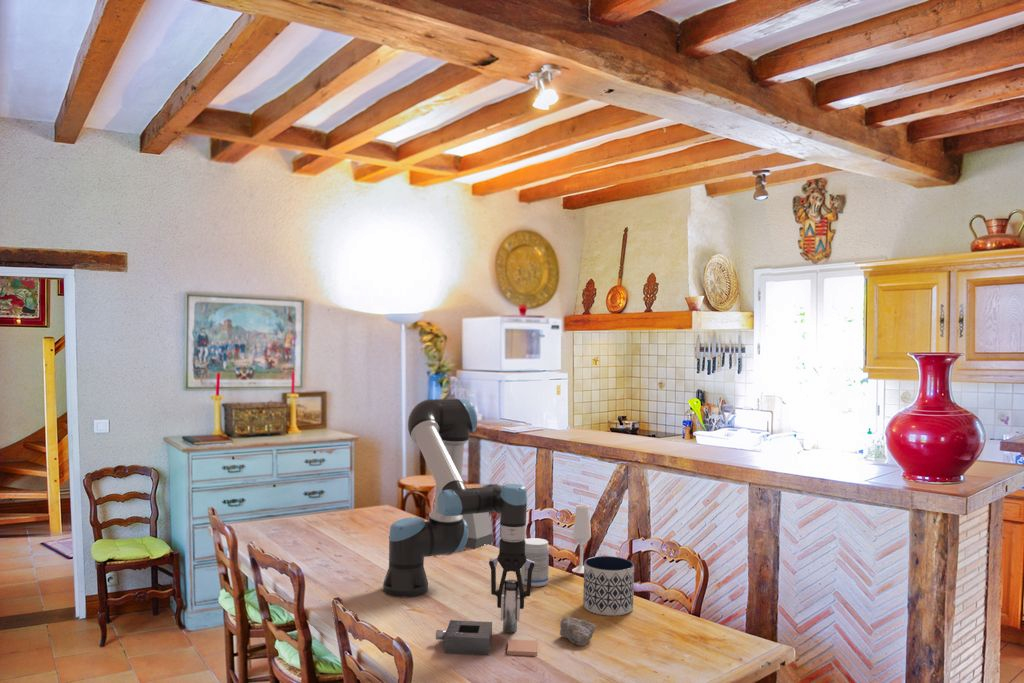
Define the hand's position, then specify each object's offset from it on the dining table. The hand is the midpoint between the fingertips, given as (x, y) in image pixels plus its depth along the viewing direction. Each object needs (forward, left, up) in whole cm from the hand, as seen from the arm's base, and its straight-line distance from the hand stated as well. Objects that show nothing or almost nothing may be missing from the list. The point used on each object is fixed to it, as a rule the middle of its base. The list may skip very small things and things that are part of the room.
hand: (510, 618), depth 221 cm
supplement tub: (+6, +46, -4) cm, 46 cm away
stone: (+19, -4, -4) cm, 20 cm away
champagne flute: (+23, +63, -4) cm, 67 cm away
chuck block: (-12, -11, -4) cm, 17 cm away
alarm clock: (-25, +97, -4) cm, 100 cm away
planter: (+30, +24, -4) cm, 39 cm away
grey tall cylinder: (0, 0, -3) cm, 3 cm away
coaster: (+4, -12, -4) cm, 13 cm away
